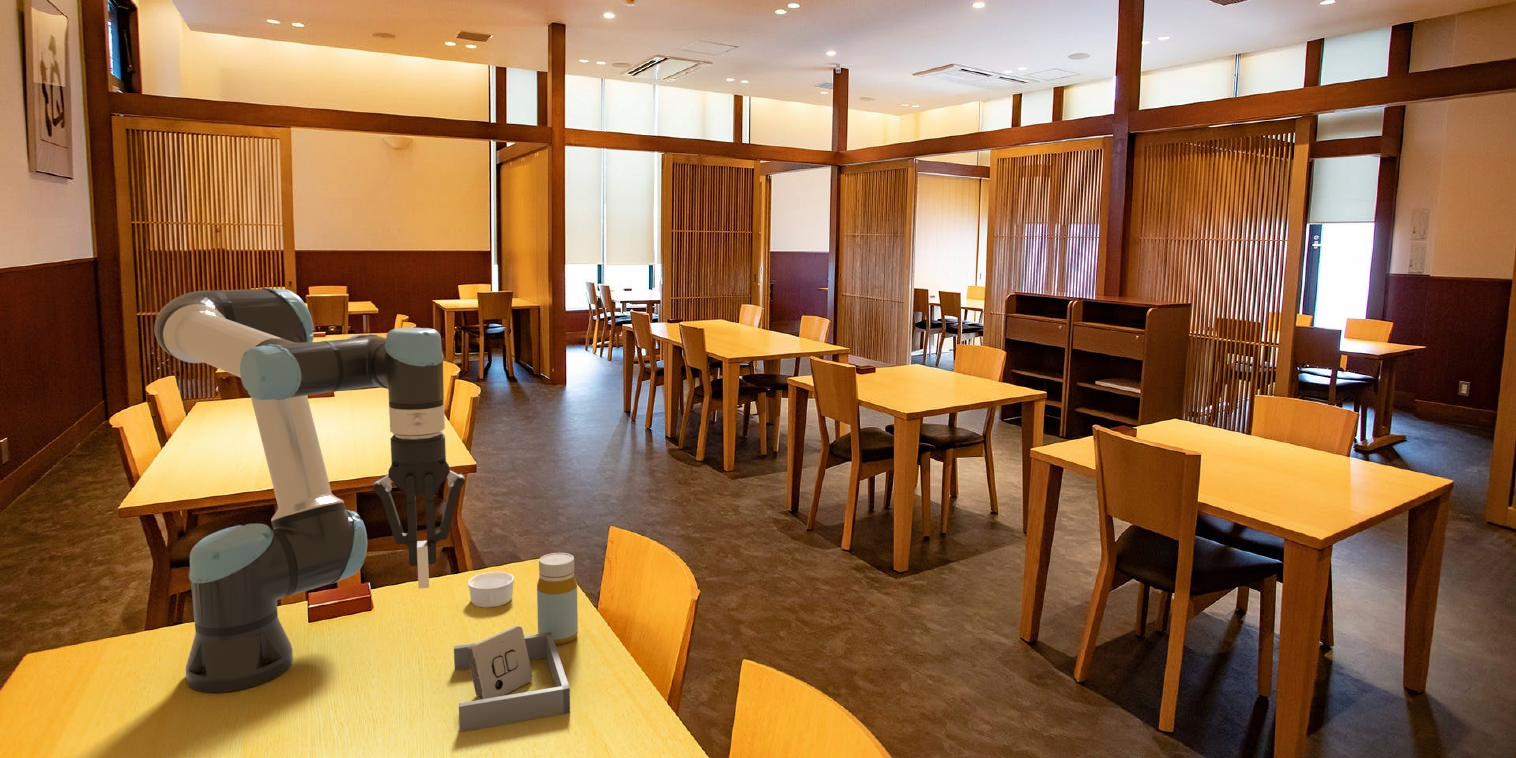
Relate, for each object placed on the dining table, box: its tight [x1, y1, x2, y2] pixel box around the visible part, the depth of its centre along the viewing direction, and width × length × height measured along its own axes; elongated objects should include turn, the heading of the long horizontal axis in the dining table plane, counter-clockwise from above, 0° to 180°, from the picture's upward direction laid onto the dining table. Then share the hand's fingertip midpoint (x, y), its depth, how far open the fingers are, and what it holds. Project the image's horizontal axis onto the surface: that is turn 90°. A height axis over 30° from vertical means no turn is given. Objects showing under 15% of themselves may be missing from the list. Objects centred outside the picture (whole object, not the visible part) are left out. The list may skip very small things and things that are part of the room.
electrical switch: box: [466, 625, 534, 699], centre depth 138 cm, size 9×5×9 cm, turn 146°
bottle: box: [536, 552, 579, 646], centre depth 155 cm, size 7×7×15 cm
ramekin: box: [467, 571, 515, 608], centre depth 172 cm, size 9×9×4 cm
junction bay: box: [453, 632, 571, 733], centre depth 138 cm, size 20×16×4 cm
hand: (423, 584), depth 131 cm, fingers closed
